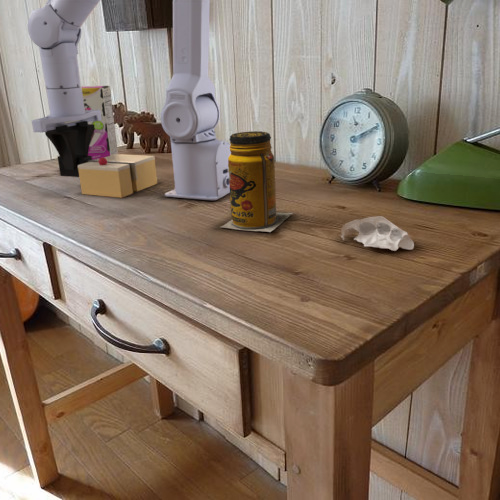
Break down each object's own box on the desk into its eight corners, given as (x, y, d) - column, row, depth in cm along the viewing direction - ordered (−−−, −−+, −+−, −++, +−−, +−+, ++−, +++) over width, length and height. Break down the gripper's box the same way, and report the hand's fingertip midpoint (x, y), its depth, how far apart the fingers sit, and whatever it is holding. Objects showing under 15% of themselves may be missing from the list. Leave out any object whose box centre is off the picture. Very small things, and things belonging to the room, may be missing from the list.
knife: (60, 175, 96) (57, 156, 95) (68, 173, 98) (65, 154, 97) (133, 181, 90) (130, 160, 89) (140, 178, 92) (138, 158, 90)
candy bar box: (60, 170, 112) (46, 88, 106) (70, 165, 116) (57, 86, 110) (112, 169, 110) (101, 86, 105) (120, 164, 115) (110, 84, 109)
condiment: (219, 228, 72) (213, 137, 67) (246, 210, 79) (242, 127, 74) (270, 233, 69) (267, 138, 64) (293, 215, 76) (292, 128, 72)
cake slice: (133, 193, 91) (128, 156, 89) (121, 197, 89) (117, 160, 87) (93, 189, 95) (88, 154, 93) (81, 194, 92) (76, 158, 90)
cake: (157, 183, 97) (154, 155, 96) (137, 191, 92) (133, 162, 91) (119, 180, 101) (116, 153, 99) (98, 188, 96) (94, 160, 94)
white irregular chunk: (365, 231, 68) (366, 202, 66) (418, 248, 62) (421, 216, 60) (333, 242, 65) (334, 211, 63) (387, 260, 59) (388, 227, 57)
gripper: (75, 84, 99) (86, 158, 103) (12, 91, 86) (28, 175, 91) (106, 84, 96) (116, 160, 100) (45, 91, 83) (59, 177, 88)
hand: (76, 167), depth 96 cm, fingers closed on knife, 2 cm apart
